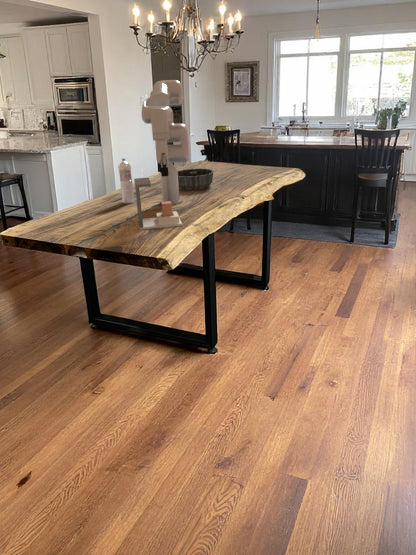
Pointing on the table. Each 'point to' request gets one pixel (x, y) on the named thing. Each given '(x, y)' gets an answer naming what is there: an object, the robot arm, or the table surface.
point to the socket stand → (162, 221)
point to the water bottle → (126, 182)
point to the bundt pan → (195, 178)
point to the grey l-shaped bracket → (139, 183)
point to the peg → (167, 208)
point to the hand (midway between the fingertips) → (164, 174)
